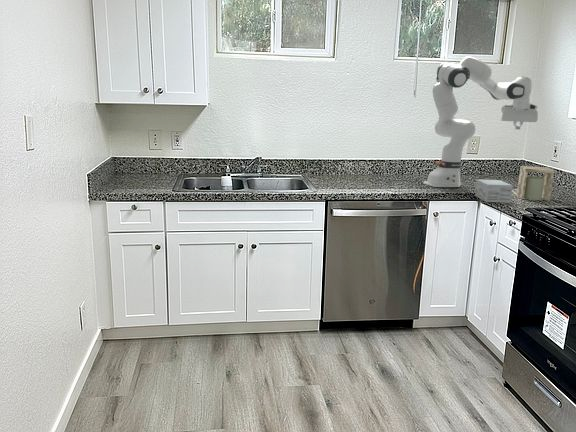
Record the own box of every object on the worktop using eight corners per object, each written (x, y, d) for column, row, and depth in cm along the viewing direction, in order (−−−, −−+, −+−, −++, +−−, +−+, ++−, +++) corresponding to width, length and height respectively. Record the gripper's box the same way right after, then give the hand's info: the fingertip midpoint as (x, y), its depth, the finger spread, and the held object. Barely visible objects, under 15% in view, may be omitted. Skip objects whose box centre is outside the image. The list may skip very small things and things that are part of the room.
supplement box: (511, 203, 260) (513, 185, 258) (485, 202, 260) (487, 184, 258) (498, 196, 276) (501, 179, 274) (474, 195, 277) (476, 178, 274)
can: (520, 196, 277) (523, 174, 274) (537, 197, 276) (540, 175, 274) (526, 200, 268) (530, 177, 265) (544, 201, 268) (548, 178, 265)
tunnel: (509, 190, 293) (513, 162, 289) (534, 192, 291) (539, 163, 287) (521, 199, 269) (526, 168, 265) (549, 201, 267) (554, 170, 263)
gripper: (503, 105, 297) (500, 129, 300) (540, 106, 294) (536, 130, 297) (500, 104, 303) (497, 128, 306) (536, 106, 300) (533, 129, 303)
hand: (517, 129), depth 302 cm, fingers closed
